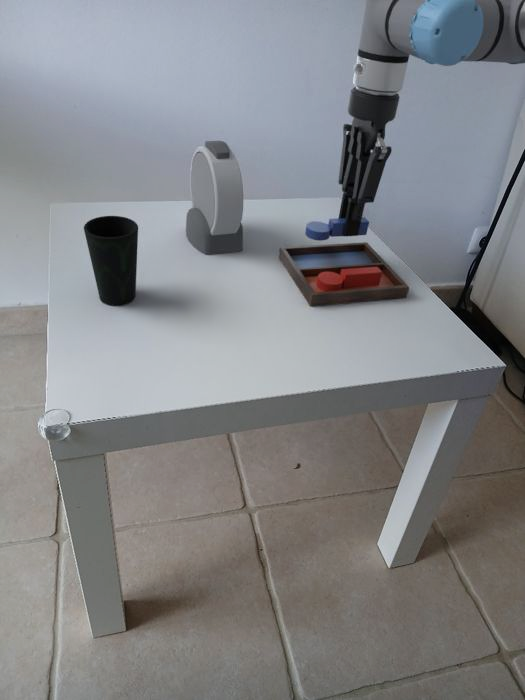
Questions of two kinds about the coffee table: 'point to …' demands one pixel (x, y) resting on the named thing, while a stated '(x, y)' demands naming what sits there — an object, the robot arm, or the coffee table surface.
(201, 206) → the alarm clock
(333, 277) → the red spoon
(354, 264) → the divided sorting tray
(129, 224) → the cup
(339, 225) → the blue disc-ended stick
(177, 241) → the coffee table surface
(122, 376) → the coffee table surface
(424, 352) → the coffee table surface
